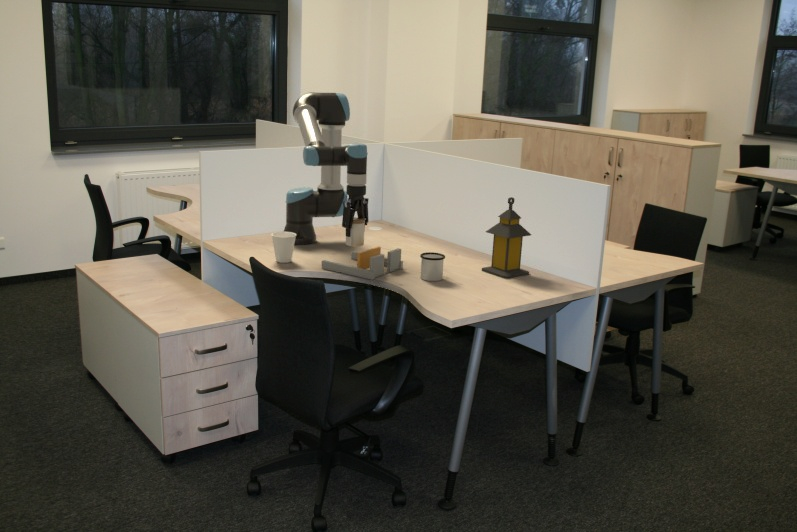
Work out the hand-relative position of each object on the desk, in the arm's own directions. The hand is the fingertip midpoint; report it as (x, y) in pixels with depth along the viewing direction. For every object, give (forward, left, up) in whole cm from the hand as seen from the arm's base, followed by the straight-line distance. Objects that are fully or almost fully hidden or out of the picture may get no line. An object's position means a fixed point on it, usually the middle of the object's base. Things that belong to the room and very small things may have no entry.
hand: (354, 242), depth 292 cm
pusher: (0, +11, -9) cm, 14 cm away
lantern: (-33, +50, -10) cm, 61 cm away
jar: (0, 0, -1) cm, 1 cm away
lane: (0, +4, -10) cm, 10 cm away
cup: (+12, -26, -10) cm, 30 cm away
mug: (-7, +32, -10) cm, 34 cm away
